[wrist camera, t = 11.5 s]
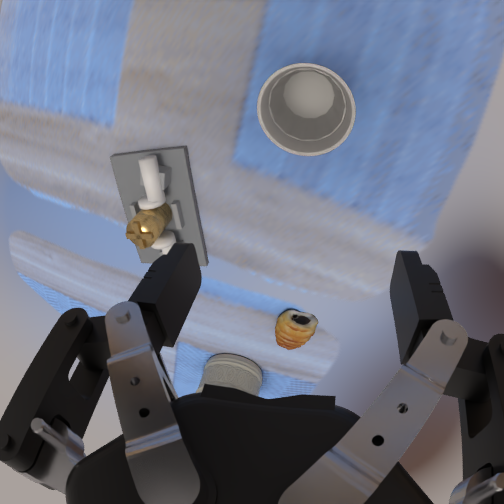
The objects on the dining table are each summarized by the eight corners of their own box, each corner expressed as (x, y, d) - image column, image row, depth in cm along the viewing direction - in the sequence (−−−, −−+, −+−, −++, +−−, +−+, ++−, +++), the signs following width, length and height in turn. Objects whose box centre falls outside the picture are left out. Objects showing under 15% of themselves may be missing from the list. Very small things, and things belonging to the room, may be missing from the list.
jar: (216, 344, 63) (190, 419, 49) (273, 366, 64) (258, 442, 50) (200, 371, 71) (177, 435, 57) (250, 390, 72) (234, 455, 58)
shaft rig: (113, 154, 42) (93, 167, 38) (186, 146, 40) (170, 159, 36) (143, 259, 53) (130, 278, 49) (208, 262, 50) (198, 283, 46)
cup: (356, 103, 32) (374, 126, 23) (301, 137, 36) (295, 172, 27) (316, 48, 30) (316, 44, 20) (260, 85, 33) (237, 99, 24)
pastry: (302, 345, 59) (300, 361, 56) (269, 336, 59) (265, 352, 56) (320, 314, 53) (319, 331, 50) (283, 303, 53) (279, 320, 50)
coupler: (142, 199, 45) (120, 222, 39) (169, 198, 44) (148, 222, 38) (149, 224, 47) (129, 249, 42) (175, 225, 46) (156, 251, 41)
